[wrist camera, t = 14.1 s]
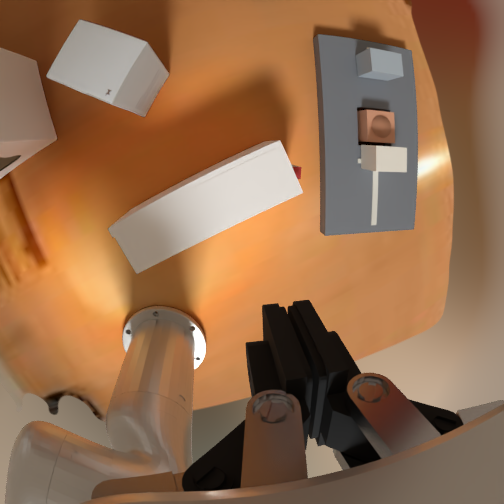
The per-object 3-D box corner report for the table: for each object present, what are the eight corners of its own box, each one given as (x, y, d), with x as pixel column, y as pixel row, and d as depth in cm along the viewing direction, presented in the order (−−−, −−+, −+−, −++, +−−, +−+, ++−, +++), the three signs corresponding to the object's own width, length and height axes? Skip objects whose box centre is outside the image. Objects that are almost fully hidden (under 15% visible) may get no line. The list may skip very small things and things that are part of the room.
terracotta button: (382, 142, 37) (395, 143, 34) (356, 141, 37) (368, 141, 34) (381, 113, 36) (394, 112, 33) (355, 111, 36) (367, 109, 32)
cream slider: (390, 168, 37) (406, 172, 33) (361, 168, 37) (376, 171, 33) (390, 146, 36) (406, 147, 32) (360, 144, 36) (376, 145, 32)
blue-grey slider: (387, 80, 33) (403, 76, 29) (357, 76, 33) (372, 70, 29) (385, 60, 32) (401, 53, 28) (355, 55, 31) (369, 47, 28)
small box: (170, 73, 32) (150, 41, 20) (145, 118, 34) (111, 106, 22) (117, 51, 30) (78, 17, 18) (93, 95, 32) (43, 78, 19)
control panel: (406, 225, 42) (414, 229, 40) (320, 231, 41) (325, 235, 39) (404, 53, 34) (411, 50, 32) (313, 38, 32) (318, 33, 30)
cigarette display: (151, 246, 39) (135, 275, 30) (130, 209, 37) (107, 228, 28) (292, 177, 38) (314, 187, 30) (274, 136, 36) (292, 134, 28)
